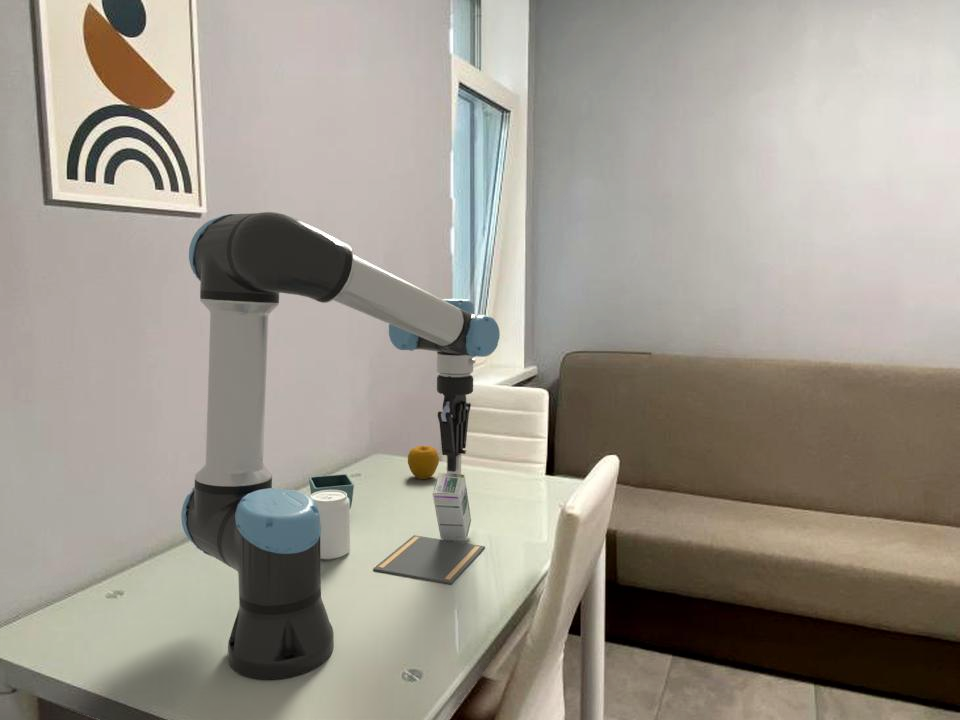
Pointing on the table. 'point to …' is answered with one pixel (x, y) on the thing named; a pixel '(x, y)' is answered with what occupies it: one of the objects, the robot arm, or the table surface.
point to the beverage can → (333, 522)
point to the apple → (423, 461)
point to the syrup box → (452, 506)
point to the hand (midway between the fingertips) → (453, 484)
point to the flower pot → (332, 484)
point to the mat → (430, 559)
